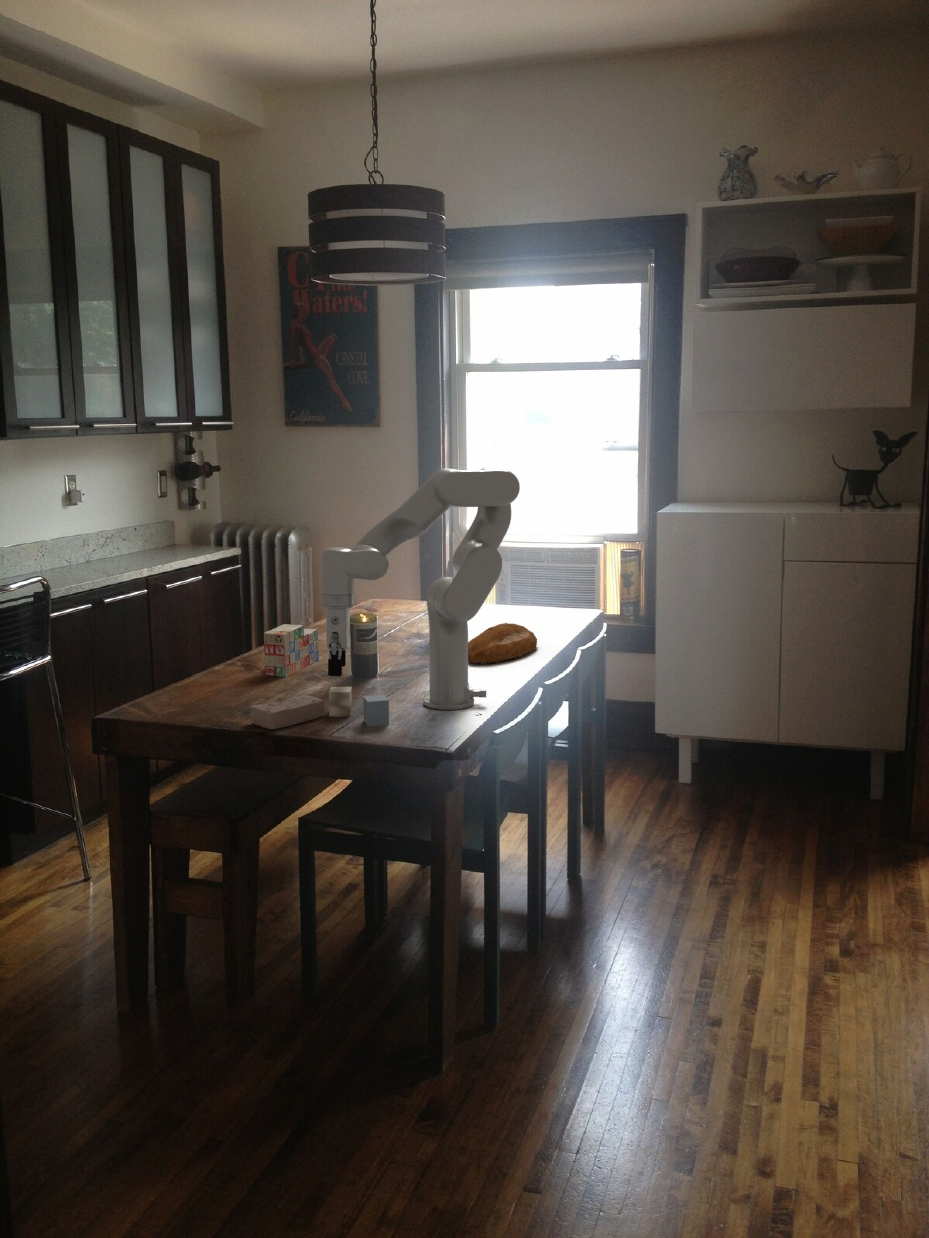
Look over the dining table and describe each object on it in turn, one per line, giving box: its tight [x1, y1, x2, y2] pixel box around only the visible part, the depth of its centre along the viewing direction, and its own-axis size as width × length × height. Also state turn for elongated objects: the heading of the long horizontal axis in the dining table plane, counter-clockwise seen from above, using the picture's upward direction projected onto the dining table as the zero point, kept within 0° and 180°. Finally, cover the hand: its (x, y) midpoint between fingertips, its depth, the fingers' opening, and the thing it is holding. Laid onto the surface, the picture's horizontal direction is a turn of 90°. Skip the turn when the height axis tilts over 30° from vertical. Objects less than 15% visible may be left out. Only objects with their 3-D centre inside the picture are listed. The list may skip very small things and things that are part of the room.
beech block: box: [328, 686, 353, 717], centre depth 264 cm, size 5×5×6 cm
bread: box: [468, 622, 538, 665], centre depth 326 cm, size 18×35×9 cm, turn 149°
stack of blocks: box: [263, 623, 320, 678], centre depth 308 cm, size 21×6×12 cm, turn 162°
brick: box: [249, 694, 326, 730], centre depth 259 cm, size 17×8×5 cm, turn 137°
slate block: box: [362, 694, 390, 728], centre depth 256 cm, size 5×5×6 cm
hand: (336, 670), depth 262 cm, fingers open, 9 cm apart
